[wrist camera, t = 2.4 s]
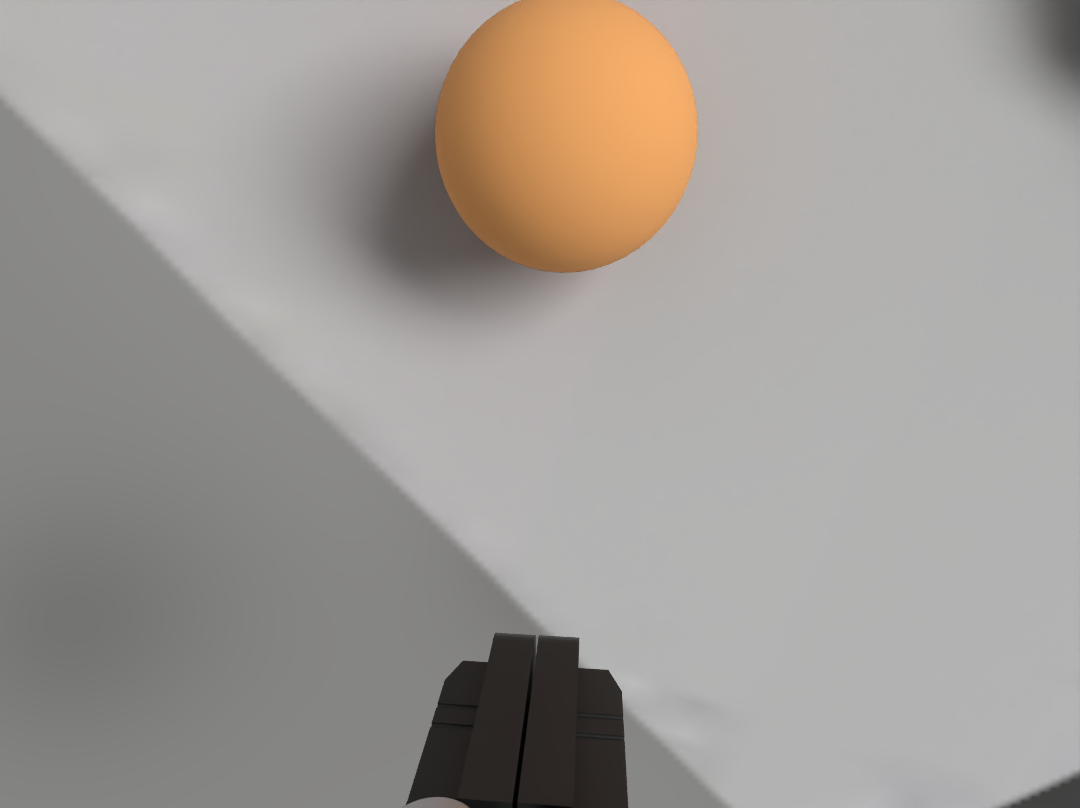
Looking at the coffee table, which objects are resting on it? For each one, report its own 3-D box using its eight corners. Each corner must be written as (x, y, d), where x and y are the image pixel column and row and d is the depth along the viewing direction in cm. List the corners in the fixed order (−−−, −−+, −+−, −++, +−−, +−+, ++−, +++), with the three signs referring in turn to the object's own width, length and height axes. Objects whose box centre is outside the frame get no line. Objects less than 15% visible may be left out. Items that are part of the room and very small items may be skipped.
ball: (460, 25, 17) (397, -49, 11) (690, 26, 16) (734, -51, 11) (463, 256, 18) (409, 284, 13) (672, 262, 18) (703, 293, 13)
